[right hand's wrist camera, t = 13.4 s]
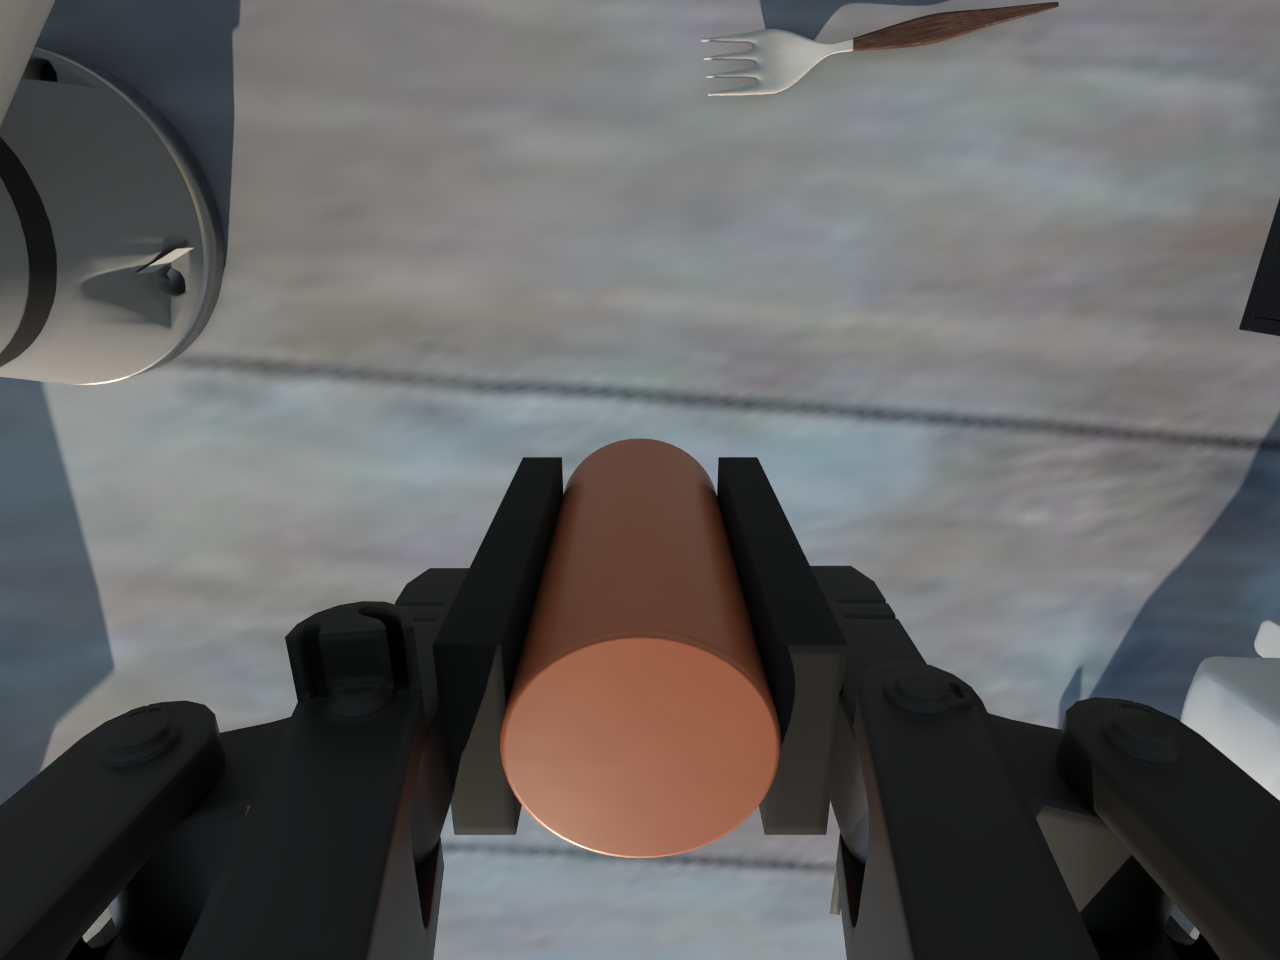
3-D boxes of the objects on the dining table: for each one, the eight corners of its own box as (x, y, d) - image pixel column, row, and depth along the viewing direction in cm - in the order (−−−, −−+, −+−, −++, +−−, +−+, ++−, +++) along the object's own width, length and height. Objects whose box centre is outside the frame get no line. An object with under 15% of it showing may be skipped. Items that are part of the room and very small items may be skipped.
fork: (1051, 40, 33) (1076, 29, 31) (704, 106, 34) (708, 100, 32) (1052, -26, 32) (1078, -42, 30) (697, 43, 33) (700, 33, 31)
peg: (564, 581, 15) (507, 861, 9) (558, 437, 14) (488, 632, 8) (715, 581, 15) (773, 861, 9) (721, 437, 14) (793, 632, 8)
